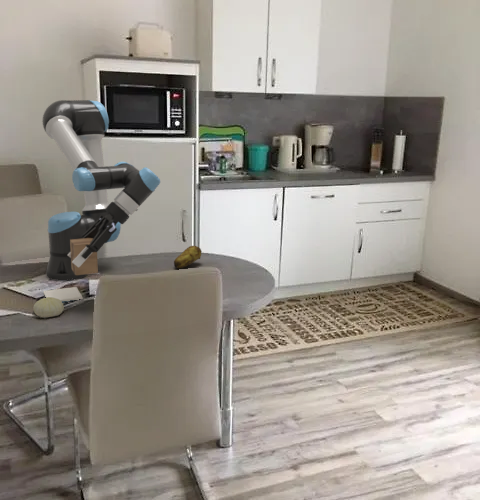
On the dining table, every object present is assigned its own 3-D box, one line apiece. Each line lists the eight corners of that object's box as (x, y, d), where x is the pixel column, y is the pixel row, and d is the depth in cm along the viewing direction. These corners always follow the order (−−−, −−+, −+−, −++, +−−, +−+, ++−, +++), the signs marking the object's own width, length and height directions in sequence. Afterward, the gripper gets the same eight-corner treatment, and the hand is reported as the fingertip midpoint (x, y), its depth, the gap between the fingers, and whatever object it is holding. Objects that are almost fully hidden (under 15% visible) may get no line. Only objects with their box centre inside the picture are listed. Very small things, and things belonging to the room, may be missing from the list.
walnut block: (71, 268, 185) (70, 239, 182) (93, 266, 188) (91, 237, 185) (75, 275, 179) (74, 245, 176) (97, 272, 182) (96, 243, 179)
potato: (168, 265, 229) (168, 246, 227) (197, 261, 235) (197, 243, 233) (176, 271, 222) (176, 251, 220) (206, 267, 228) (206, 248, 226)
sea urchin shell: (34, 316, 171) (31, 292, 174) (34, 326, 177) (31, 303, 180) (66, 312, 174) (62, 289, 178) (64, 322, 181) (61, 299, 184)
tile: (43, 294, 194) (43, 290, 193) (76, 290, 198) (76, 286, 198) (48, 305, 184) (48, 301, 184) (82, 300, 189) (82, 297, 189)
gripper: (138, 222, 176) (88, 277, 174) (121, 209, 193) (75, 259, 191) (121, 207, 172) (69, 263, 170) (105, 194, 189) (58, 245, 187)
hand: (73, 261), depth 181 cm, fingers closed on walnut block, 7 cm apart
